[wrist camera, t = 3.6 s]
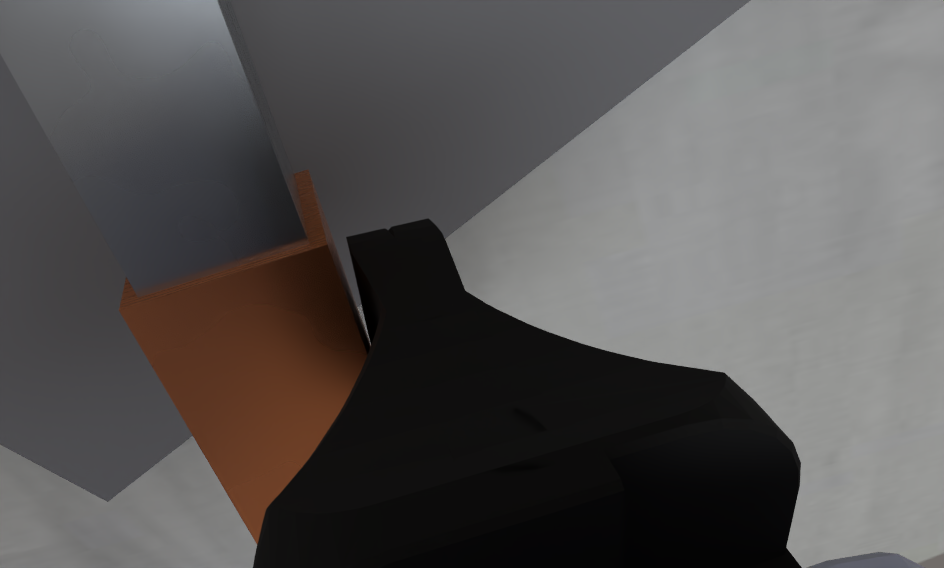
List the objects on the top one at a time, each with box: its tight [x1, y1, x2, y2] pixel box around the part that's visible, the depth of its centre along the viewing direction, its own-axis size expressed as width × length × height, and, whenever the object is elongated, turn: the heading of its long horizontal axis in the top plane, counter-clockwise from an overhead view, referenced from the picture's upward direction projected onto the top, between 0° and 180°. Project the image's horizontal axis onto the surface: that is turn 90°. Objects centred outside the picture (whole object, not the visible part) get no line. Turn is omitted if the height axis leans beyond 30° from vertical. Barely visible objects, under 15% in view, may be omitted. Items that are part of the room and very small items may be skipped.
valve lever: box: [0, 0, 371, 544], centre depth 9 cm, size 12×3×2 cm, turn 12°
